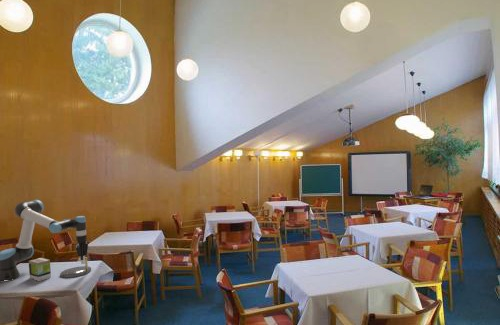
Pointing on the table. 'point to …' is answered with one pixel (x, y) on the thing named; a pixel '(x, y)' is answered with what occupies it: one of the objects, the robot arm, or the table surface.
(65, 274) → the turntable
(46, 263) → the tea box
